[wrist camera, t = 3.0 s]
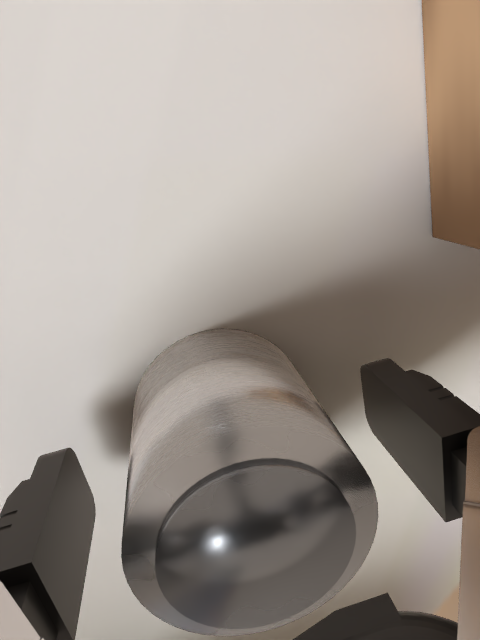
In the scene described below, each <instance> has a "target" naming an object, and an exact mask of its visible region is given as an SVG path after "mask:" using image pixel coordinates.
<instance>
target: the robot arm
mask: <svg viewBox="0 0 480 640" xmlns="http://www.w3.org/2000/svg"><path fill="white" fill-rule="evenodd" d="M361 381H362V389H363V397H364V406H365V413H366V418H367V421H368V424H369V426H370V428H371V430H372V432H373V434H374V435H375V436H376V437H377V439H378V440H379V441H380V442H381V444H382V445H383V446H384V447H385V448H386V450H387V451H388V452H389V453H390V455H391V456H392V457H393V458H394V460H395V461H396V462H397V463H398V464H399V466H400V467H401V468H402V469H403V471H404V472H405V473H406V474H407V475H408V477H409V478H410V479H411V480H412V482H413V483H414V484H415V485H416V487H417V488H418V489H419V490H420V491H421V493H422V494H423V495H424V496H425V498H426V499H427V500H428V501H429V503H430V504H431V505H432V506H433V507H434V509H435V510H436V511H437V512H438V514H439V515H440V516H441V517H442V518H443V520H444V521H445V522H449V521H452V520H455V519H458V518H461V517H463V520H462V542H461V565H460V588H459V612H458V623H456V622H454V621H452V620H449V619H446V618H443V617H439V616H436V615H432V614H427V613H422V612H410V611H397V609H396V607H395V606H394V604H393V602H392V600H391V598H390V596H389V595H388V593H386V594H383V595H380V596H377V597H374V598H371V599H368V600H365V601H362V602H360V603H357V604H354V605H351V606H348V607H345V608H342V609H339V610H336V611H334V612H333V613H331V614H330V615H328V616H327V617H326V618H324V619H323V620H321V621H320V622H318V623H317V624H315V625H314V626H312V627H311V628H309V629H308V630H306V631H305V632H304V633H302V634H301V635H299V636H298V637H296V638H295V639H293V640H480V414H479V413H477V412H476V411H475V410H473V409H472V408H471V407H470V406H468V405H467V404H466V403H464V402H463V401H462V400H460V399H459V398H458V397H457V396H455V397H454V395H453V393H451V392H450V391H449V390H447V389H446V388H443V386H442V385H441V384H440V383H438V382H437V381H436V380H434V379H433V378H432V377H430V376H428V375H425V374H423V373H420V372H417V371H414V370H409V371H406V372H405V371H404V370H403V369H402V368H401V367H399V366H398V365H397V364H396V363H395V362H393V361H392V360H391V359H389V358H386V359H382V360H379V361H375V362H372V363H368V364H365V365H362V366H361ZM94 522H95V503H94V498H93V494H92V492H91V489H90V487H89V485H88V482H87V480H86V478H85V475H84V473H83V471H82V468H81V466H80V464H79V461H78V459H77V457H76V454H75V452H74V451H73V450H72V449H71V448H66V449H63V450H59V451H56V452H52V453H49V454H45V455H42V456H40V457H39V458H38V460H37V463H36V465H35V468H34V470H33V473H32V475H31V478H30V479H28V480H25V481H22V482H21V483H20V484H19V485H18V486H17V488H16V489H15V490H14V491H13V492H12V493H11V495H10V496H9V497H8V498H7V500H6V502H5V504H4V507H3V509H2V511H1V513H0V640H75V635H76V629H77V623H78V617H79V611H80V605H81V600H82V594H83V588H84V582H85V576H86V570H87V564H88V558H89V552H90V546H91V540H92V534H93V528H94Z"/></svg>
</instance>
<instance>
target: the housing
mask: <svg viewBox="0 0 480 640" xmlns="http://www.w3.org/2000/svg"><path fill="white" fill-rule="evenodd" d="M377 521H378V502H377V498H376V493H375V489H374V487H373V484H372V482H371V479H370V477H369V476H368V474H367V472H366V471H365V469H364V468H363V466H362V465H361V463H360V462H359V460H358V459H357V457H356V456H355V454H354V453H353V452H352V450H351V449H350V447H349V446H348V444H347V443H346V441H345V440H344V438H343V437H342V436H341V434H340V433H339V431H338V430H337V428H336V427H335V425H334V424H333V422H332V421H331V420H330V418H329V417H328V415H327V414H326V412H325V411H324V409H323V408H322V406H321V405H320V404H319V402H318V401H317V399H316V398H315V396H314V395H313V393H312V392H311V390H310V389H309V388H308V386H307V385H306V383H305V382H304V380H303V379H302V377H301V376H300V374H299V373H298V372H297V370H296V369H295V367H294V366H293V364H292V363H291V361H290V360H289V359H288V357H287V356H286V355H285V354H284V353H283V351H281V350H280V349H279V348H278V347H277V346H276V345H274V344H273V343H271V342H270V341H268V340H267V339H265V338H263V337H261V336H258V335H256V334H253V333H250V332H247V331H241V330H235V329H216V330H208V331H203V332H199V333H196V334H193V335H190V336H188V337H185V338H183V339H181V340H179V341H177V342H176V343H174V344H173V345H171V346H169V347H168V348H167V349H165V350H164V351H163V352H162V353H161V354H159V355H158V356H157V358H156V359H155V360H154V361H153V362H152V363H151V364H150V366H149V367H148V368H147V370H146V371H145V373H144V375H143V377H142V378H141V380H140V382H139V385H138V388H137V391H136V395H135V400H134V409H133V421H132V432H131V444H130V455H129V467H128V478H127V490H126V501H125V513H124V524H123V536H122V554H121V557H122V564H123V571H124V574H125V577H126V580H127V583H128V584H129V586H130V588H131V590H132V592H133V594H134V595H135V596H136V598H137V599H138V600H139V601H140V603H141V604H142V605H143V606H144V607H145V608H146V609H147V610H149V611H150V612H151V613H152V614H153V615H155V616H156V617H158V618H159V619H161V620H162V621H164V622H166V623H168V624H170V625H172V626H174V627H177V628H180V629H183V630H186V631H189V632H194V633H198V634H203V635H213V636H237V635H247V634H253V633H258V632H263V631H267V630H270V629H274V628H277V627H280V626H283V625H285V624H288V623H290V622H293V621H295V620H297V619H299V618H301V617H303V616H305V615H307V614H309V613H311V612H312V611H314V610H315V609H317V608H319V607H320V606H322V605H323V604H324V603H326V602H327V601H328V600H330V599H331V598H332V597H333V596H335V595H336V594H337V593H338V592H339V591H340V590H341V589H342V588H343V587H344V586H345V585H346V584H347V583H348V582H349V581H350V580H351V579H352V578H353V576H354V575H355V574H356V572H357V571H358V569H359V568H360V567H361V565H362V563H363V562H364V560H365V558H366V556H367V555H368V553H369V550H370V548H371V546H372V543H373V540H374V537H375V533H376V529H377Z"/></svg>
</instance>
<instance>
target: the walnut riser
mask: <svg viewBox="0 0 480 640" xmlns="http://www.w3.org/2000/svg"><path fill="white" fill-rule="evenodd" d="M422 17H423V39H424V61H425V82H426V104H427V126H428V147H429V169H430V191H431V212H432V234H433V237H435V238H439V239H443V240H446V241H450V242H454V243H458V244H462V245H465V246H469V247H473V248H477V249H480V0H422Z"/></svg>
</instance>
